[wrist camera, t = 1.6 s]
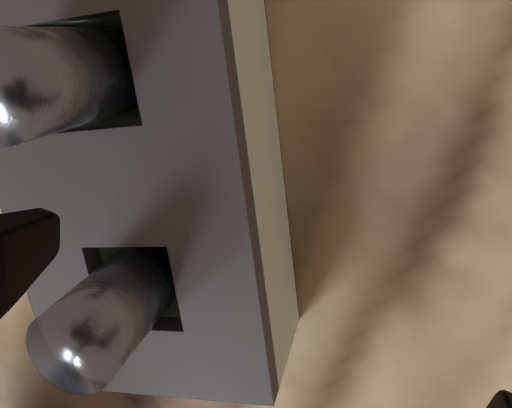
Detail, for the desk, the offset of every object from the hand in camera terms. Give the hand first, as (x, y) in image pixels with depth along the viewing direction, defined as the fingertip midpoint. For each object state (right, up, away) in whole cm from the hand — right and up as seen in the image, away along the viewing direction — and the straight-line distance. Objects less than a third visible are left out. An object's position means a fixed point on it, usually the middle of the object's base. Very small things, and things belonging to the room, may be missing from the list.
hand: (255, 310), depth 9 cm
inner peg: (-4, -1, +10) cm, 11 cm away
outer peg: (-5, +7, +8) cm, 12 cm away
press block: (-4, +4, +13) cm, 14 cm away
